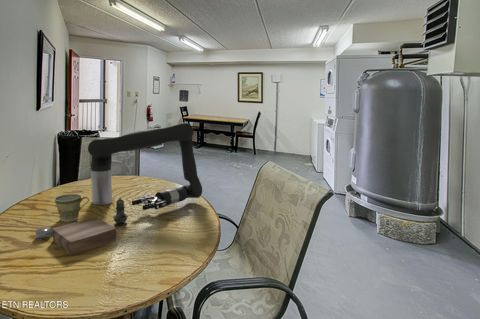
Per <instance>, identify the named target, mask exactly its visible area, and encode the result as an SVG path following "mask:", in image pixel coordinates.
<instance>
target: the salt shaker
mask: <svg viewBox="0 0 480 319" xmlns="http://www.w3.org/2000/svg"><path fill="white" fill-rule="evenodd" d="M115 204H116V208H115V210H116V212H115V213H116V214H115V215H113V217H112V219H113V221H114V222H115V223H114V224H113V227H115V228H123V227H126V226H127V225H128V222H127V219H128V217H129V216H128V215H129V214H125V208H126V207H125V205H124V204H125V203H124V199H121V197H119V198H118V200H116V202H115Z"/></svg>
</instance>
